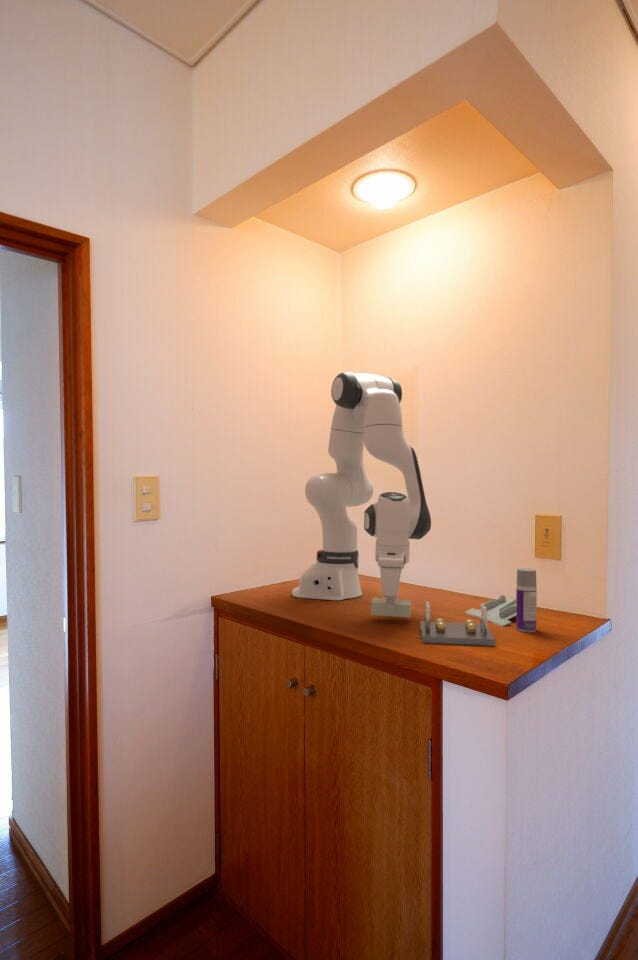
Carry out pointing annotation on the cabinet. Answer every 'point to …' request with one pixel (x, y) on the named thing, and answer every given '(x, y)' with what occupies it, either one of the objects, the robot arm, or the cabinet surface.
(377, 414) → the robot arm
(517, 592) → the container
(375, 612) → the board
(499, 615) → the metal bracket
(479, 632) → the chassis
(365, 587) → the cabinet surface
